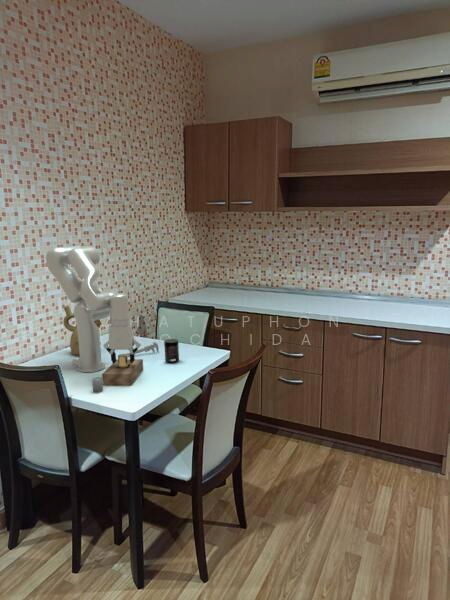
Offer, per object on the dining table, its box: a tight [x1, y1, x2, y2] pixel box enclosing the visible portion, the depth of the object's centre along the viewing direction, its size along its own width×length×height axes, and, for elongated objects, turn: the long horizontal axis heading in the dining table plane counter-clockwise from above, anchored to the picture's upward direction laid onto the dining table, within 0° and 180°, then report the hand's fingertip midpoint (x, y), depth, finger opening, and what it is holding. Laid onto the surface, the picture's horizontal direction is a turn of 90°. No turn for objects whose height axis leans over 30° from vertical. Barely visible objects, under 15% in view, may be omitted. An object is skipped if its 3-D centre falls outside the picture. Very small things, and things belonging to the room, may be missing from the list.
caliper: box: [125, 341, 160, 357], centre depth 234 cm, size 20×1×6 cm, turn 114°
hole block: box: [101, 358, 144, 387], centre depth 202 cm, size 12×20×5 cm, turn 176°
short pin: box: [91, 376, 104, 394], centre depth 187 cm, size 4×4×5 cm
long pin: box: [117, 353, 129, 368], centre depth 202 cm, size 4×4×10 cm
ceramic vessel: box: [62, 305, 102, 356], centre depth 240 cm, size 17×20×25 cm
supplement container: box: [163, 338, 180, 365], centre depth 222 cm, size 7×7×10 cm
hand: (123, 362), depth 201 cm, fingers open, 7 cm apart
